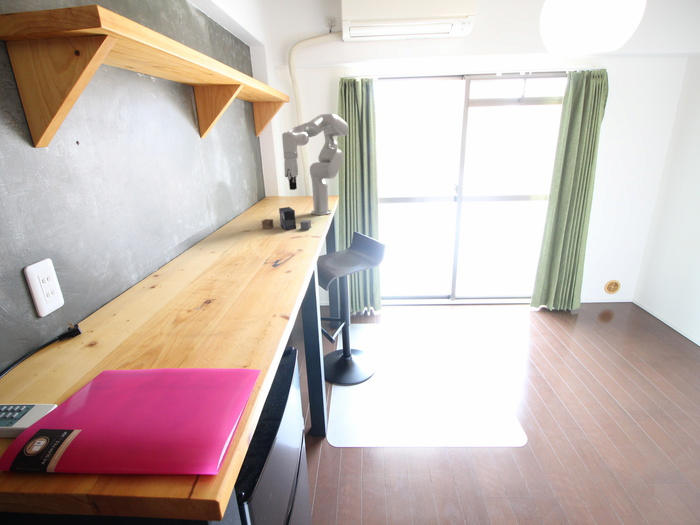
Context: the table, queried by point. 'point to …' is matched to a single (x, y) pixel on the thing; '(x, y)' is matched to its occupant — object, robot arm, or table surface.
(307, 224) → the charcoal block
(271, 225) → the walnut block
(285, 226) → the small box
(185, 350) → the table surface
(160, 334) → the table surface
